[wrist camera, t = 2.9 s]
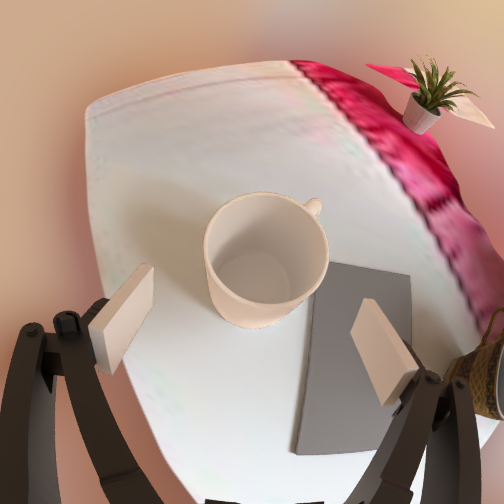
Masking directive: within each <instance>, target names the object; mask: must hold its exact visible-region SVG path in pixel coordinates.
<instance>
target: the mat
mask: <svg viewBox="0 0 504 504" xmlns="http://www.w3.org/2000/svg"><path fill="white" fill-rule="evenodd" d="M364 298H368V299H374V300H375V301H376V303H377V304H378V306H379V307H380V309H381V310H382V312H383V313H384V314H385V316H386V317H387V319H388V320H389V322H390V323H391V325H392V326H393V328H394V329H395V331H396V332H397V334H398V335H399V337H400V338H401V339H403V340H405V341H406V342H407V343H408V344H409V345H410V346H411V341H412V309H411V285H410V276H409V275H403V274H397V273H391V272H386V271H380V270H374V269H368V268H363V267H357V266H351V265H345V264H339V263H334V262H329V263H328V268H327V271H326V274H325V276H324V279H323V280H322V282H321V284H320V285H319V286H318V288H317V289H316V290H315V294H314V307H313V320H312V331H311V342H310V351H309V361H308V369H307V377H306V385H305V393H304V400H303V407H302V414H301V420H300V426H299V433H298V438H297V444H296V450H295V454H296V455H328V454H343V453H354V452H363V451H371V450H378V448H379V446H380V444H381V442H382V440H383V438H384V436H385V434H386V432H387V430H388V428H389V426H390V424H391V422H392V420H393V417H394V416H393V417H392V414H393V413H394V412H395V411H396V409H397V408H398V407H399V405H400V404H401V401H400V398H398V400H397V401H396V402H395V404H394V405H392V406H381V404H380V401H379V399H378V396H377V394H376V391H375V389H374V386H373V384H372V382H371V379H370V377H369V374H368V372H367V370H366V367H365V365H364V363H363V361H362V358H361V356H360V354H359V351H358V349H357V347H356V345H355V342H354V340H353V338H352V336H351V334H350V332H351V329H352V327H353V324H354V322H355V320H356V317H357V315H358V312H359V310H360V307H361V304H362V302H363V299H364Z"/></svg>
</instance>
